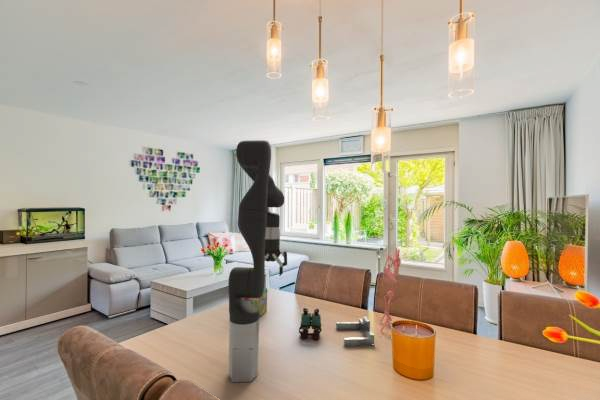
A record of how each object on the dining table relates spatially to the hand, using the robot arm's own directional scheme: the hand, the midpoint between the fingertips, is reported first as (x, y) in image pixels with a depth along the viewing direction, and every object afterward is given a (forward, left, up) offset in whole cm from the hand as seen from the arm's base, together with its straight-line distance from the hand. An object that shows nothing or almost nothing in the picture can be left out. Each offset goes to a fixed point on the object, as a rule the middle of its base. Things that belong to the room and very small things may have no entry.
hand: (270, 275), depth 128 cm
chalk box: (+17, +7, -23) cm, 29 cm away
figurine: (-3, -55, -23) cm, 59 cm away
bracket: (-9, -34, -22) cm, 42 cm away
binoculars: (-9, -17, -23) cm, 30 cm away
